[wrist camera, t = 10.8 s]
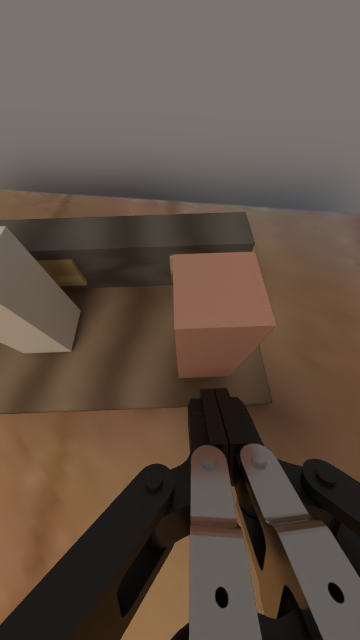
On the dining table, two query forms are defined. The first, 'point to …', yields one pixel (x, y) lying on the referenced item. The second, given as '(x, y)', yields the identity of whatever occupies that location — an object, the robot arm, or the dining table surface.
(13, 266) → the cream key
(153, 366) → the switch board
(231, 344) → the brick key
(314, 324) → the dining table surface
